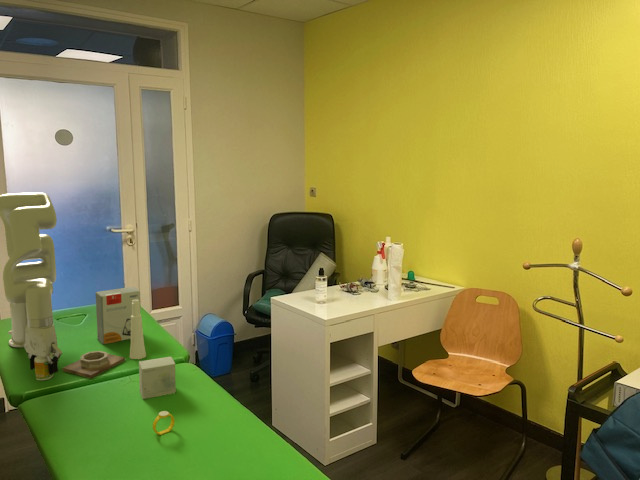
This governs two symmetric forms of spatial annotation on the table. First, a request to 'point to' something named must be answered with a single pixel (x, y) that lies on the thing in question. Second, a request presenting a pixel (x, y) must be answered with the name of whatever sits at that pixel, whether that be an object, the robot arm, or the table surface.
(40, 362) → the supplement bottle
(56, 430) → the table surface
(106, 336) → the hard drive box
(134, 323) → the cosmetic bottle
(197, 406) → the table surface
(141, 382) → the skincare box
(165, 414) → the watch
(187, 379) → the table surface
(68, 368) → the walnut board
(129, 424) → the table surface
